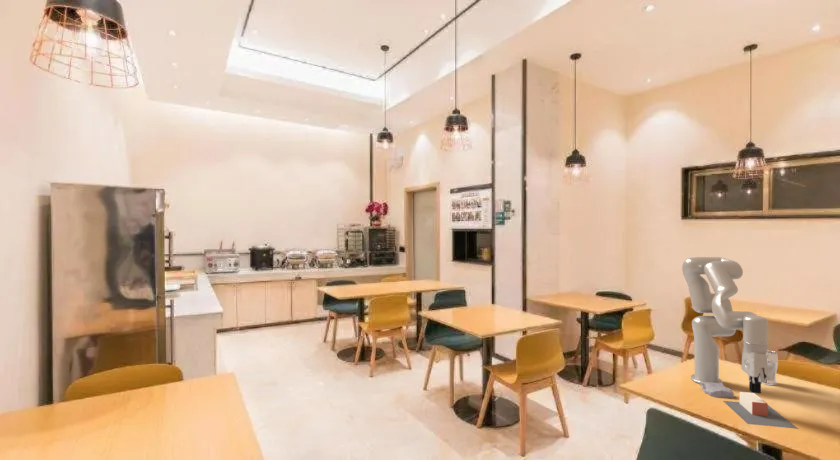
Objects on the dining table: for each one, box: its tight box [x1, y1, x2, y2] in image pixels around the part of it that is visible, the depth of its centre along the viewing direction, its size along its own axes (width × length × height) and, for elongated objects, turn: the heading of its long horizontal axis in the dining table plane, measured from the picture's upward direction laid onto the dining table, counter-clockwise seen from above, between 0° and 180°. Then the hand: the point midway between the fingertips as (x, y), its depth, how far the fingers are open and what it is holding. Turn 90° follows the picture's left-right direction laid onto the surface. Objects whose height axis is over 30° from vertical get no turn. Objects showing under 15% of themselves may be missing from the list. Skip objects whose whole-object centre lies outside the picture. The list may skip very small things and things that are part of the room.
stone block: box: [700, 382, 735, 399], centre depth 179 cm, size 12×5×10 cm
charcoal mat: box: [722, 400, 799, 430], centre depth 159 cm, size 20×16×1 cm
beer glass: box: [762, 349, 779, 386], centre depth 189 cm, size 7×7×15 cm
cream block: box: [739, 391, 768, 416], centre depth 162 cm, size 5×5×10 cm
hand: (755, 392), depth 160 cm, fingers closed
